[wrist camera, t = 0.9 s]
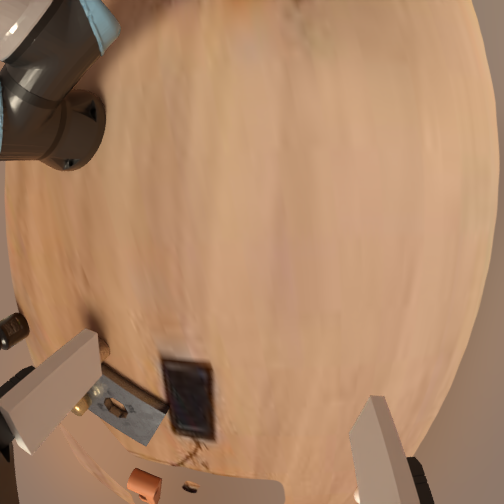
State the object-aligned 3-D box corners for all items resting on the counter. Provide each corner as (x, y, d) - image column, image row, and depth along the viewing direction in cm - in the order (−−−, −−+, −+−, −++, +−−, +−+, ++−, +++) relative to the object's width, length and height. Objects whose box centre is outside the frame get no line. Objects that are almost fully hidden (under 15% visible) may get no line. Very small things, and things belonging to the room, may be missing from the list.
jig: (80, 394, 55) (65, 409, 49) (89, 353, 51) (70, 370, 45) (149, 439, 55) (139, 459, 48) (169, 406, 51) (157, 429, 45)
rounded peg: (90, 348, 51) (60, 375, 40) (94, 333, 50) (61, 359, 39) (107, 361, 51) (78, 390, 40) (112, 346, 50) (81, 375, 39)
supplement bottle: (12, 309, 53) (-20, 326, 42) (26, 314, 53) (-7, 333, 41) (18, 333, 55) (-11, 351, 43) (32, 339, 54) (2, 359, 42)
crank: (136, 463, 60) (126, 482, 52) (162, 474, 59) (153, 494, 52) (137, 488, 65) (129, 504, 57) (160, 498, 64) (152, 514, 56)
